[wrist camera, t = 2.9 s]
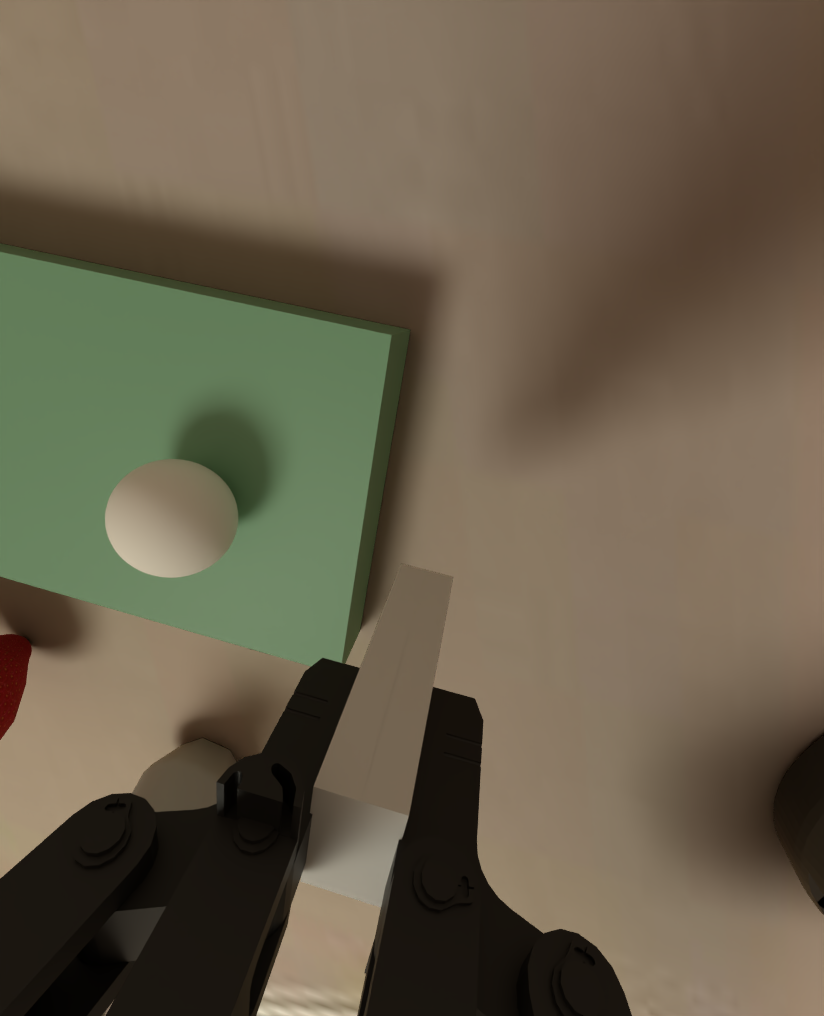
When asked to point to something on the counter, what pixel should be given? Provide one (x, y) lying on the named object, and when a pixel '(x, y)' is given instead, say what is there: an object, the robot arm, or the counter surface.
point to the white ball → (171, 518)
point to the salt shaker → (185, 777)
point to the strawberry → (12, 676)
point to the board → (195, 445)
